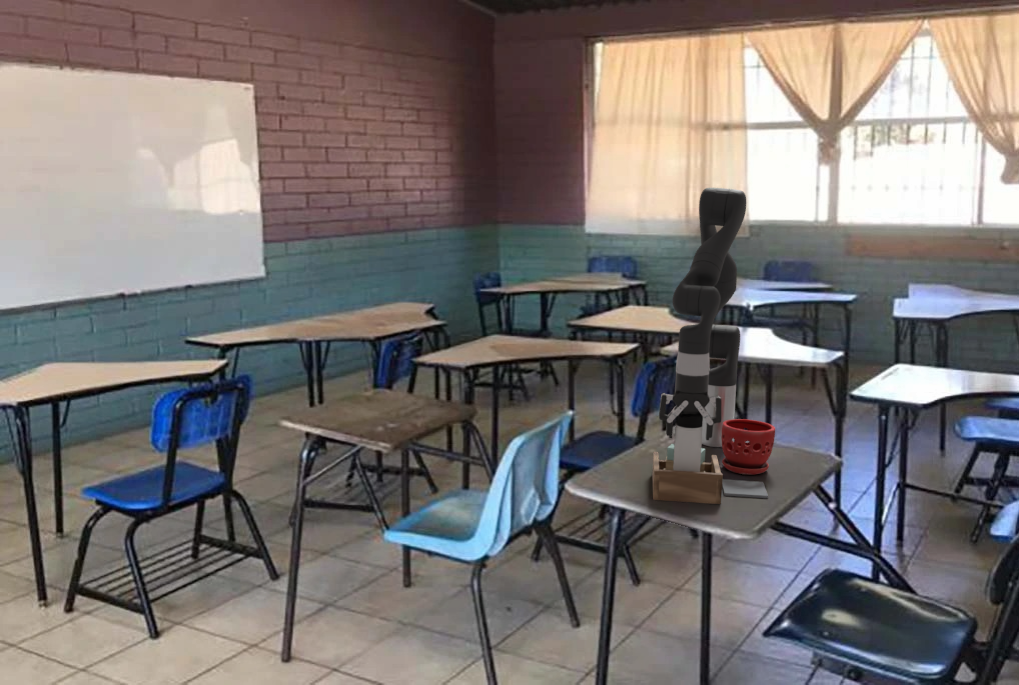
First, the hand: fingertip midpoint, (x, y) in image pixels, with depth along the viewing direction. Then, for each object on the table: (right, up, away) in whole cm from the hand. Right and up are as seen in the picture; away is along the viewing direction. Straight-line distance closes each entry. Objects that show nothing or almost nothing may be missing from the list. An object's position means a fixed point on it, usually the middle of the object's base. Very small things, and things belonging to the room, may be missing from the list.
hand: (688, 438), depth 226 cm
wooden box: (0, -13, +5) cm, 14 cm away
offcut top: (+1, -6, +9) cm, 11 cm away
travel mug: (0, -13, +3) cm, 13 cm away
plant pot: (+18, -10, +21) cm, 29 cm away
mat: (+14, -13, +5) cm, 20 cm away
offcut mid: (+1, -9, +9) cm, 13 cm away
